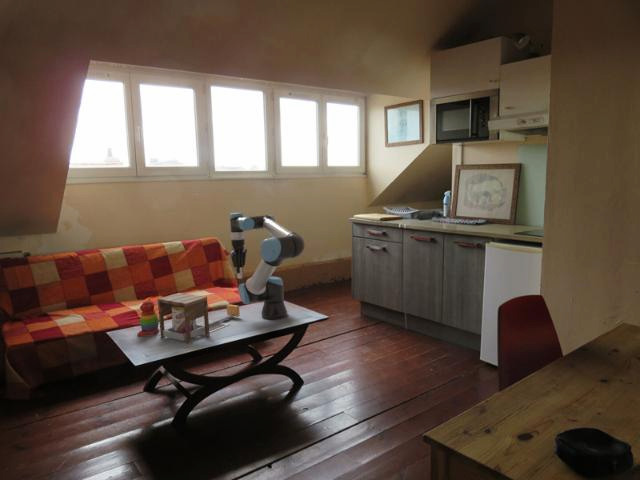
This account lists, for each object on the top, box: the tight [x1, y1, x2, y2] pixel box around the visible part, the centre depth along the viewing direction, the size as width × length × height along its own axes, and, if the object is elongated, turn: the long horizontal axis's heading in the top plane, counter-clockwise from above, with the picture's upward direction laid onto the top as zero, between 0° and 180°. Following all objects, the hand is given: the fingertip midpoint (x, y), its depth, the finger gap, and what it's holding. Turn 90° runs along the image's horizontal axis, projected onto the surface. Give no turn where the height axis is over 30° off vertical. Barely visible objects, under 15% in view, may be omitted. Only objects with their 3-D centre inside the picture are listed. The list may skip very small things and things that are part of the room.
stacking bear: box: [137, 299, 160, 337], centre depth 242 cm, size 11×10×18 cm
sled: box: [163, 303, 241, 341], centre depth 247 cm, size 15×45×6 cm, turn 148°
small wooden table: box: [157, 292, 211, 345], centre depth 234 cm, size 21×14×20 cm, turn 58°
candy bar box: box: [171, 305, 197, 338], centre depth 234 cm, size 11×5×16 cm, turn 84°
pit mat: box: [197, 319, 231, 334], centre depth 249 cm, size 16×17×1 cm
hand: (239, 278), depth 270 cm, fingers closed
